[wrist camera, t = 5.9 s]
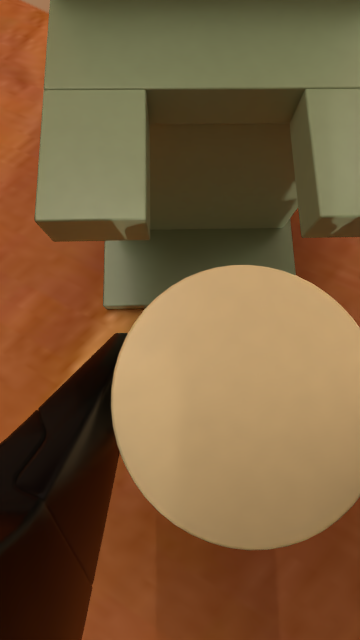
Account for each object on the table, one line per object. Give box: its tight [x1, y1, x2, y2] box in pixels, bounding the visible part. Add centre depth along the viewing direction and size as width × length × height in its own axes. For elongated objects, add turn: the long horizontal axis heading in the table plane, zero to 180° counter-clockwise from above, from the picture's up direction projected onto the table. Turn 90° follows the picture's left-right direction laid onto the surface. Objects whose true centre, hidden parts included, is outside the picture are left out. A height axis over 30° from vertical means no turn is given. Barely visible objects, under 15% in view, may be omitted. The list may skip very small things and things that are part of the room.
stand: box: [35, 0, 360, 309], centre depth 12 cm, size 8×11×13 cm
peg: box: [111, 265, 360, 550], centre depth 11 cm, size 6×6×10 cm
